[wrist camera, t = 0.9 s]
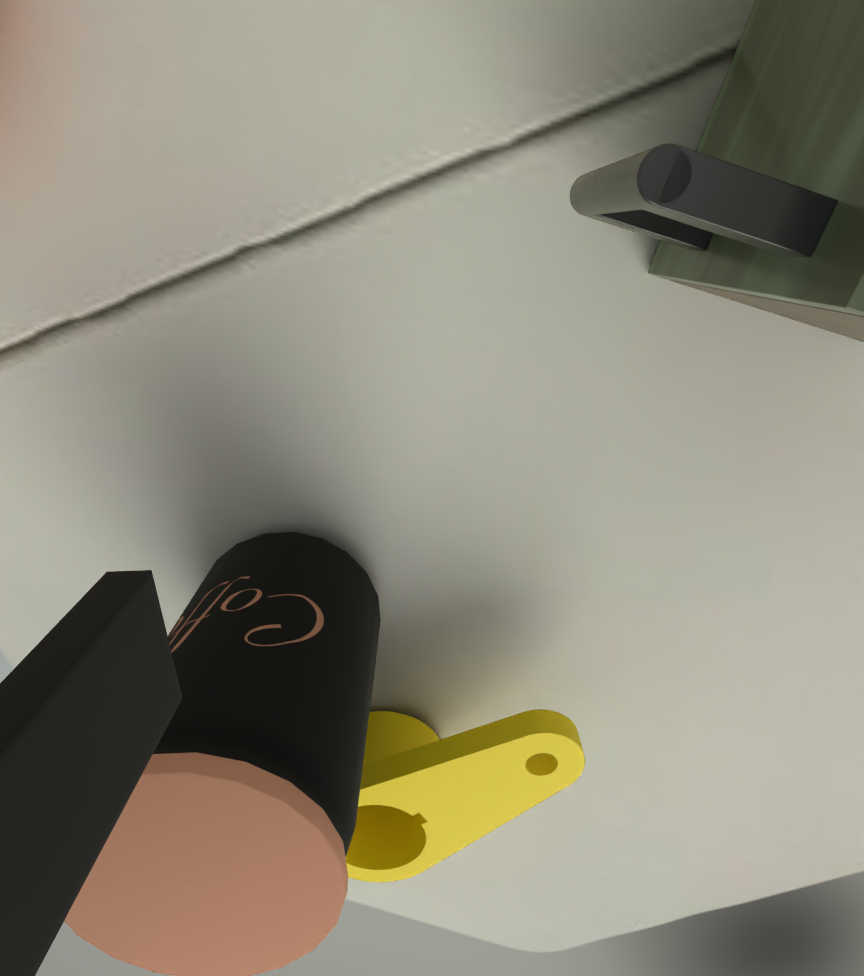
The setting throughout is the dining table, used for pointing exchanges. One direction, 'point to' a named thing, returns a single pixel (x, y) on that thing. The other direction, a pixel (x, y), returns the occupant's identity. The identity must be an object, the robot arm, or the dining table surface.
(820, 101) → the door
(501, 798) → the crank
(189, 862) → the coffee jar
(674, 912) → the dining table surface
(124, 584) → the robot arm
